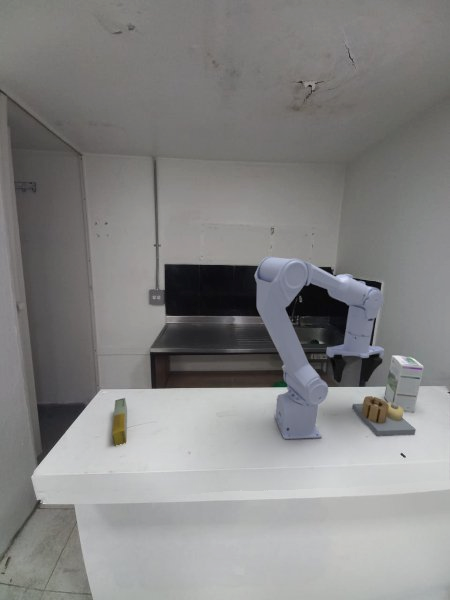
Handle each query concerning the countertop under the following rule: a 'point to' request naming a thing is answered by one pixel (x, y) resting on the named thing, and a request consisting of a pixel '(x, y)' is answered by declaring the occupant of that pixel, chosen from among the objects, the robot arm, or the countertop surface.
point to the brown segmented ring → (375, 409)
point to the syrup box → (404, 382)
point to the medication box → (120, 422)
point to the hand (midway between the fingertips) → (350, 380)
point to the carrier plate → (388, 421)
